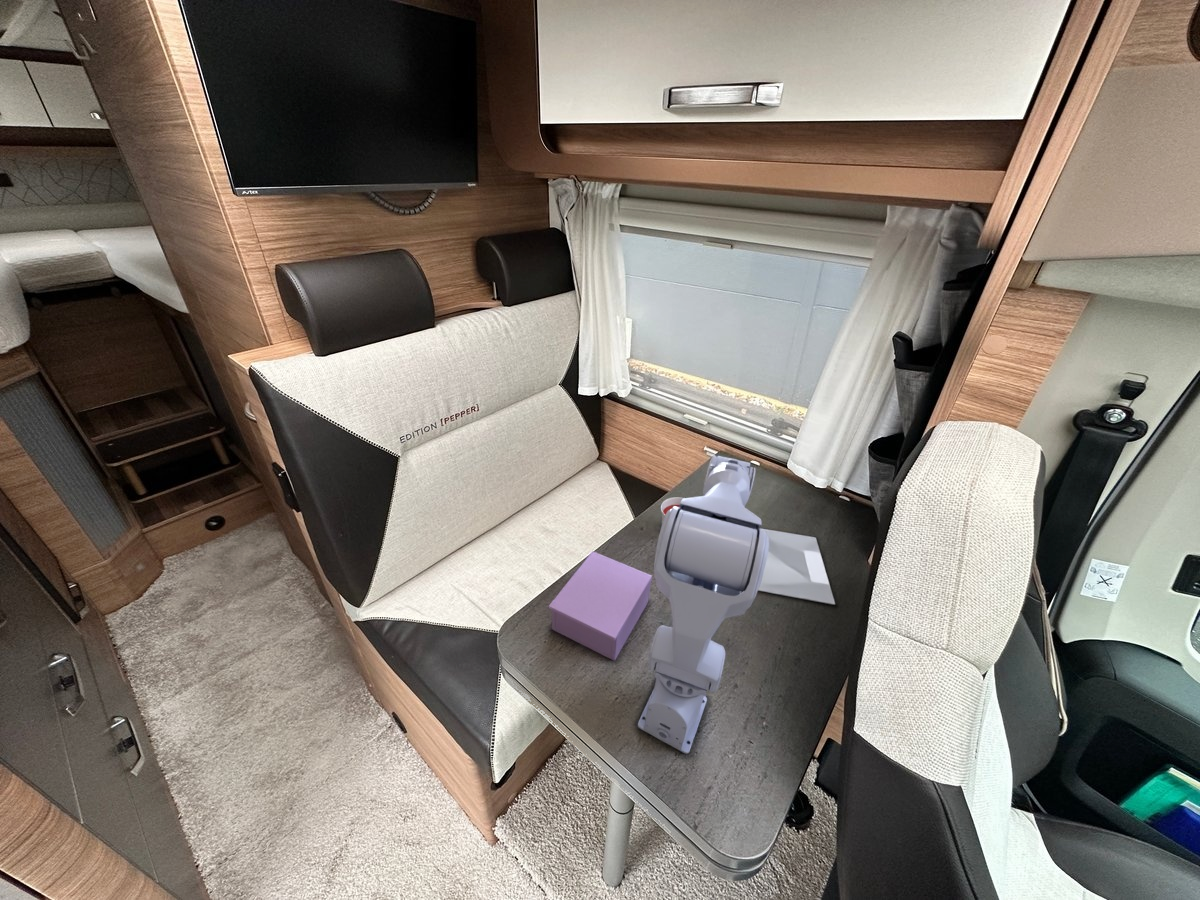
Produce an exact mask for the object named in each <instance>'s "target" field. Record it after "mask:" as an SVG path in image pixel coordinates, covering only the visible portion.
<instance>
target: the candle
mask: <svg viewBox="0 0 1200 900" xmlns="http://www.w3.org/2000/svg"><path fill="white" fill-rule="evenodd" d="M682 499H685V497H668V498H667V499H665V500H664V501H662V503H661V504H660V515H661V516H660V517H661V525H662V524H663V521H664V518H665V515H666V513H667V512H668V511H669V510H670V509H672V508H673V507H674V506H676V507H680V502H681V500H682Z"/></svg>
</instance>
